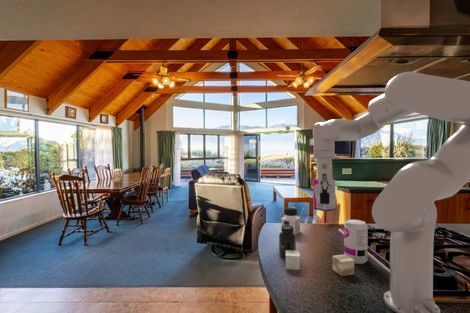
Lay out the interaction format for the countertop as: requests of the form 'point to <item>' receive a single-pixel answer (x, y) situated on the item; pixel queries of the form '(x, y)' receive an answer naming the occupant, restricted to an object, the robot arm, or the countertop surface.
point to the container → (291, 219)
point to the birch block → (343, 265)
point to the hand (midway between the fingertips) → (324, 201)
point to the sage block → (292, 260)
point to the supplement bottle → (286, 240)
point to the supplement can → (355, 240)
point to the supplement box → (317, 197)
